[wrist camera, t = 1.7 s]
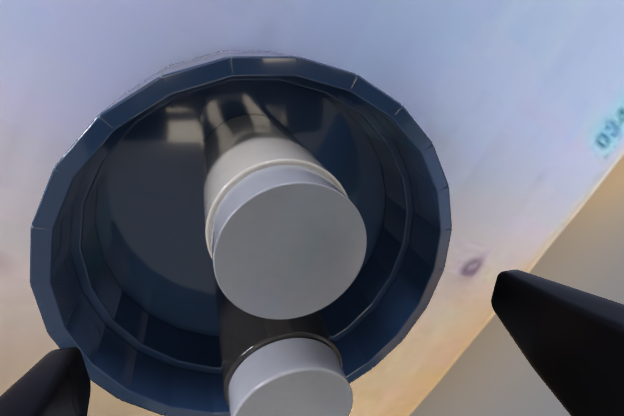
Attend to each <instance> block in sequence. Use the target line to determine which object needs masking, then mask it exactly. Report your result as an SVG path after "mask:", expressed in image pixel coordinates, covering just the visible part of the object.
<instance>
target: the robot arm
mask: <svg viewBox="0 0 624 416" xmlns="http://www.w3.org/2000/svg"><path fill="white" fill-rule="evenodd" d="M491 303H492V307H493V309H494V311H495V313H496V314H497V316H498V317H499V319H500V320H501V322H502V323H503V325H504V326H505V327H506V329H507V330H508V332H509V333H510V335H511V336H512V338H513V339H514V341H515V342H516V344H517V345H518V347H519V348H520V350H521V351H522V353H523V354H524V356H525V357H526V359H527V360H528V361H529V363H530V364H531V366H532V367H533V368H534V370H535V371H536V372H537V374H538V375H539V376H540V377H541V379H542V380H543V381H544V382H545V383H546V385H547V386H548V387H549V389H550V390H551V391H552V392H553V394H554V395H555V396H556V397H557V399H558V400H559V401H560V402H561V403H562V405H563V406H564V407H565V409H566V410H567V411H568V412H569V413H570V415H571V416H624V305H623V304H620V303H617V302H614V301H611V300H608V299H605V298H602V297H599V296H596V295H593V294H590V293H587V292H583V291H580V290H578V289H575V288H572V287H569V286H565V285H562V284H559V283H556V282H553V281H550V280H547V279H544V278H541V277H538V276H535V275H532V274H529V273H526V272H523V271H520V270H509V271H503V272H501V273H500V274H499V275H498V277H497V280H496V283H495V287H494V291H493V295H492V299H491ZM89 398H90V379H89V375H88V372H87V369H86V366H85V363H84V360H83V356H82V353H81V351H80V350H79V348H77V347H69V348H63V349H57V350H53V351H51V352H49V353H48V354H47V355H46V356H44V357H43V358H42V359H41V360H40V361H39V362H38V363H37V364H36V365H35V366H33V367H32V368H31V369H30V370H29V371H28V372H27V373H26V374H25V375H24V376H22V377H21V378H20V379H19V380H18V381H17V382H16V383H15V384H14V385H13V386H11V387H10V388H9V389H8V390H7V391H6V392H5V393H4V394H3V395H2V396H0V416H87V412H88V405H89Z"/></svg>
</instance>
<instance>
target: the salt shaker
mask: <svg viewBox="0 0 624 416" xmlns="http://www.w3.org/2000/svg"><path fill="white" fill-rule="evenodd" d="M201 166H202V185H203V202H204V220H205V238H206V244H207V249H208V251H209V254H210V257H211V259H212V260H213V269H214V274H215V277H216V280H217V283H218V285H219V287H220V289H221V290H222V292H223V293H224V294H225V296H226V297H227V298H228V299H229V300H230V301H231V302H232V303H233V304H234V305H235V306H237V307H238V308H240V309H241V310H243V311H245V312H247V313H249V314H252V315H254V316H257V317H262V318H266V319H276V320H277V319H292V318H297V317H302V316H305V315H308V314H311V313H314V312H316V311H318V310H320V309H322V308H324V307H326V306H327V305H329V304H330V303H332V302H333V301H335V300H336V299H337V298H338V297H339V296H341V295H342V294H343V293H344V292H345V291H346V290H347V289H348V287H349V286H350V285H351V284H352V282H353V281H354V280H355V278H356V276H357V275H358V273H359V271H360V269H361V266H362V264H363V261H364V258H365V254H366V247H367V236H366V228H365V225H364V221H363V219H362V217H361V215H360V213H359V211H358V210H357V208H356V207H355V205H354V204H353V203H352V202H351V201H350V200H349V198H348V196H347V194H346V192H345V190H344V188H343V187H342V185H341V184H340V182H339V181H338V180H337V179H336V178H335V177H334V176H333V175H332V174H331V173H330V172H329V171H328V170H327V169H326V168H325V167H324V166H323V165H322V164H321V163H320V162H319V161H318V160H317V159H316V158H315V157H314V156H313V155H312V154H311V153H310V152H309V151H308V150H307V149H306V148H305V147H304V146H303V145H302V144H301V143H300V142H299V141H298V140H297V139H296V138H295V137H294V136H293V135H292V134H291V133H290V132H289V131H288V130H287V129H286V128H285V127H284V126H283V125H282V124H280V123H279V122H277V121H276V120H273V119H271V118H269V117H265V116H261V115H242V116H238V117H235V118H232V119H230V120H228V121H226V122H224V123H223V124H221V125H220V126H219V127H218V128H217V129H216V130H215V131H214V132H213V133H212V134H211V135H210V137H209V138H208V140H207V142H206V144H205V146H204V149H203V153H202V160H201Z"/></svg>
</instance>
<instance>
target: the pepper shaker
mask: <svg viewBox="0 0 624 416" xmlns="http://www.w3.org/2000/svg"><path fill="white" fill-rule="evenodd" d="M214 284H215V297H216V309H217V321H218V334H219V346H220V358H221V370H222V382H223V394H224V398H225V401H226V403H227V405H228V407H229V413H230V416H349V414H350V411H351V408H352V403H353V393H352V389H351V386H350V384H349V382H348V380H347V377H346V375H345V373H344V371H343V368H342V358H341V355H340V352H339V350H338V348H337V345H336V343H335V341H334V339H333V337H332V335H331V332H330V330H329V328H328V326H327V324H326V322H325V319H324V317H323V315H322V313H321V311H320V310H318V311H316V312H314V313H311V314H308V315H305V316H302V317H297V318H292V319H277V320H276V319H266V318H262V317H257V316H254V315H252V314H249V313H247V312H245V311H243V310H241V309H240V308H238V307H237V306H235V305H234V304H233V303H232V302H231V301H230V300H229V299H228V298H227V297H226V296H225V294H224V293H223V292H222V290H221V289H220V287H219V285H218V283H217V280H216V277H215V279H214Z"/></svg>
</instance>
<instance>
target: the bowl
mask: <svg viewBox="0 0 624 416" xmlns="http://www.w3.org/2000/svg"><path fill="white" fill-rule="evenodd" d="M242 115H261V116H265V117H269V118H271V119H273V120H276V121H277V122H279V123H280V124H282V125H283V126H284V127H285V128H286V129H287V130H288V131H289V132H290V133H291V134H292V135H293V136H294V137H295V138H296V139H297V140H298V141H299V142H300V143H301V144H302V145H303V146H304V147H305V148H306V149H307V150H308V151H309V152H310V153H311V154H312V155H313V156H314V157H315V158H316V159H317V160H318V161H319V162H320V163H321V164H322V165H323V166H324V167H325V168H326V169H327V170H328V171H329V172H330V173H331V174H332V175H333V176H334V177H335V178H336V179H337V180H338V181H339V182H340V184H341V185H342V187H343V188H344V190H345V192H346V194H347V196H348V198H349V200H350V201H351V202H352V203H353V204H354V205H355V207H356V208H357V210H358V211H359V213H360V215H361V217H362V219H363V221H364V225H365V228H366V236H367V247H366V254H365V258H364V261H363V264H362V266H361V269H360V271H359V273H358V275H357V276H356V278H355V280H354V281H353V282H352V284H351V285H350V286H349V287H348V289H347V290H346V291H345V292H344V293H343V294H342V295H341V296H339V297H338V298H337V299H336V300H335V301H333V302H332V303H330V304H329V305H327V306H326V307H324V308H322V309H320V311H321V313H322V315H323V317H324V319H325V322H326V324H327V326H328V328H329V330H330V332H331V335H332V337H333V339H334V341H335V343H336V345H337V348H338V350H339V352H340V355H341V358H342V368H343V371H344V373H345V375H346V377H347V380H348V382H349V384H350V383H351V382H353V381H354V380H356V379H357V378H359V377H360V376H362V375H363V374H365V373H366V372H368V371H369V370H371V369H372V368H374V367H375V366H376V365H377V364H378V363H379V362H380V361H381V360H382V359H383V358H384V357H385V356H386V355H388V354H389V353H390V352H391V351H392V350H393V349H394V348H395V347H396V346H397V345H398V344H399V343H400V342H401V341H402V340H403V339H404V338H405V337H406V335H407V334H408V332H409V331H410V330H411V328H412V327H413V326H414V324H415V323H416V321H417V320H418V319H419V317H420V316H421V315H422V313H423V312H424V310H425V309H426V308H427V306H428V304H429V302H430V299H431V297H432V295H433V293H434V290H435V288H436V286H437V284H438V282H439V279H440V277H441V275H442V273H443V270H444V267H445V262H446V256H447V251H448V246H449V241H450V235H451V230H452V229H451V228H452V224H451V210H450V197H449V187H448V183H447V180H446V177H445V175H444V172H443V170H442V167H441V164H440V162H439V159H438V156H437V154H436V151H435V148H434V146H433V144H432V142H431V141H430V139H429V138H428V137H427V136H426V134H425V133H424V132H423V130H422V129H421V128H420V127H419V125H418V124H417V123H416V122H415V120H414V119H413V118H412V117H411V115H410V114H409V113H408V111H407V110H406V109H405V108H404V106H402V105H401V104H400V103H399V102H397V101H396V100H394V99H393V98H391V97H390V96H388V95H387V94H385V93H384V92H383V91H381V90H380V89H378V88H377V87H375V86H374V85H372V84H371V83H369V82H368V81H366V80H365V79H363V78H362V77H360V76H359V75H356V74H355V73H352V72H348V71H345V70H342V69H338V68H335V67H332V66H328V65H325V64H322V63H318V62H315V61H312V60H308V59H305V58H302V57H298V56H293V55H288V54H283V53H278V52H271V51H221V52H220V51H218V52H214V53H211V54H207V55H204V56H200V57H196V58H193V59H189V60H186V61H182V62H179V63H175V64H172V65H169V67H165V68H164V69H162V70H161V71H159V72H157V73H156V74H154V75H153V76H151V77H150V78H148V79H146V80H145V81H143V82H142V83H140V84H138V85H137V86H135V87H134V88H132V89H131V90H129V91H127V92H126V93H125V94H123V95H122V96H121V97H120V98H118V99H117V100H116V101H115V102H113V103H112V104H111V105H110V106H109V107H107V108H106V109H105V110H104V111H103V112H101V113H100V114H99V115H98V116H97V117H96V118H95V119H94V120H93V122H92V123H91V124H90V125H89V126H88V127H87V129H86V130H85V131H84V132H83V133H82V135H81V136H80V137H79V138H78V139H77V140H76V142H75V143H74V144H73V145H72V146H71V148H70V149H69V150H68V151H67V152H66V153H65V155H64V156H63V157H62V158H61V159H60V161H59V162H58V163H57V164H56V166H55V168H54V169H53V171H52V173H51V176H50V179H49V181H48V184H47V186H46V189H45V191H44V194H43V197H42V199H41V202H40V204H39V207H38V209H37V212H36V214H35V217H34V220H33V222H32V226H31V247H30V283H31V284H30V285H31V288H32V290H33V293H34V296H35V299H36V302H37V305H38V307H39V310H40V313H41V316H42V319H43V322H44V324H45V327H46V330H47V332H48V334H49V335H50V337H51V338H52V339H53V340H54V342H55V343H56V344H57V345H58V347H59V348H60V349H63V348H69V347H77V348H79V350H80V351H81V353H82V356H83V360H84V363H85V366H86V369H87V372H88V375H89V379H90V380H91V381H93V382H94V383H96V384H97V385H99V386H100V387H102V388H103V389H105V390H106V391H107V392H109V393H110V394H112V395H113V396H115V397H116V398H118V399H120V400H122V401H125V402H127V403H130V404H133V405H136V406H138V407H141V408H144V409H147V410H149V411H152V412H155V413H157V414H160V415H164V416H230V413H229V407H228V405H227V403H226V401H225V398H224V394H223V382H222V370H221V358H220V346H219V334H218V321H217V309H216V297H215V284H214V279H215V274H214V269H213V260H212V259H211V257H210V254H209V251H208V249H207V244H206V238H205V220H204V202H203V185H202V166H201V160H202V153H203V149H204V146H205V144H206V142H207V140H208V138H209V137H210V135H211V134H212V133H213V132H214V131H215V130H216V129H217V128H218V127H219V126H220V125H221V124H223V123H224V122H226V121H228V120H230V119H232V118H235V117H238V116H242Z"/></svg>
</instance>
